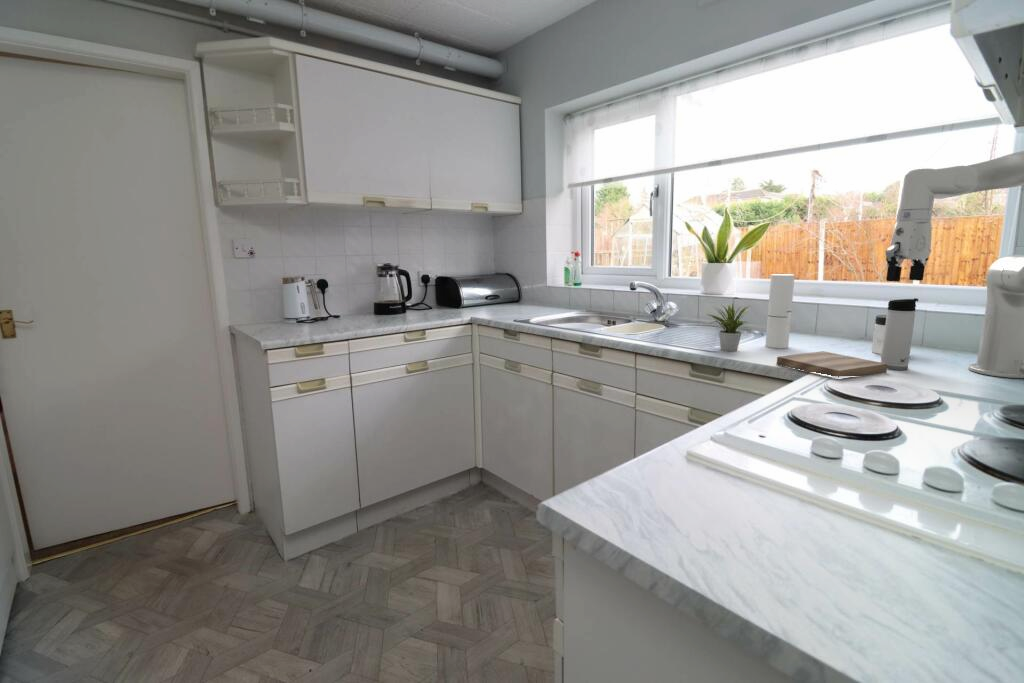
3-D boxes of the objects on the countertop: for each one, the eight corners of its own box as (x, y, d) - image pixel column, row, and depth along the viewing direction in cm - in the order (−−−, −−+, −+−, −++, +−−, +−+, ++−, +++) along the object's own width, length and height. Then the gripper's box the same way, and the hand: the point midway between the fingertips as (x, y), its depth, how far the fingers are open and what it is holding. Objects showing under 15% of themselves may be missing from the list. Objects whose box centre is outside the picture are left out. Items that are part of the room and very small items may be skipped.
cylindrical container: (793, 347, 174) (799, 274, 169) (777, 349, 171) (784, 275, 166) (775, 343, 180) (781, 273, 176) (760, 345, 178) (766, 274, 173)
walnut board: (886, 372, 138) (887, 363, 137) (838, 379, 131) (839, 370, 131) (822, 358, 155) (822, 351, 155) (776, 364, 148) (777, 356, 148)
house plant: (731, 344, 181) (734, 299, 178) (762, 351, 168) (766, 302, 165) (699, 347, 176) (702, 301, 173) (729, 354, 163) (732, 305, 160)
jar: (864, 351, 165) (868, 315, 163) (882, 349, 168) (887, 314, 166) (891, 356, 157) (896, 319, 155) (910, 354, 159) (915, 317, 157)
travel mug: (909, 371, 138) (919, 299, 135) (879, 368, 142) (888, 298, 139) (908, 367, 143) (918, 297, 140) (880, 364, 147) (888, 296, 144)
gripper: (907, 215, 129) (898, 282, 132) (949, 217, 135) (939, 280, 138) (877, 217, 135) (869, 280, 139) (918, 218, 142) (909, 279, 145)
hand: (904, 280), depth 138 cm, fingers open, 9 cm apart
